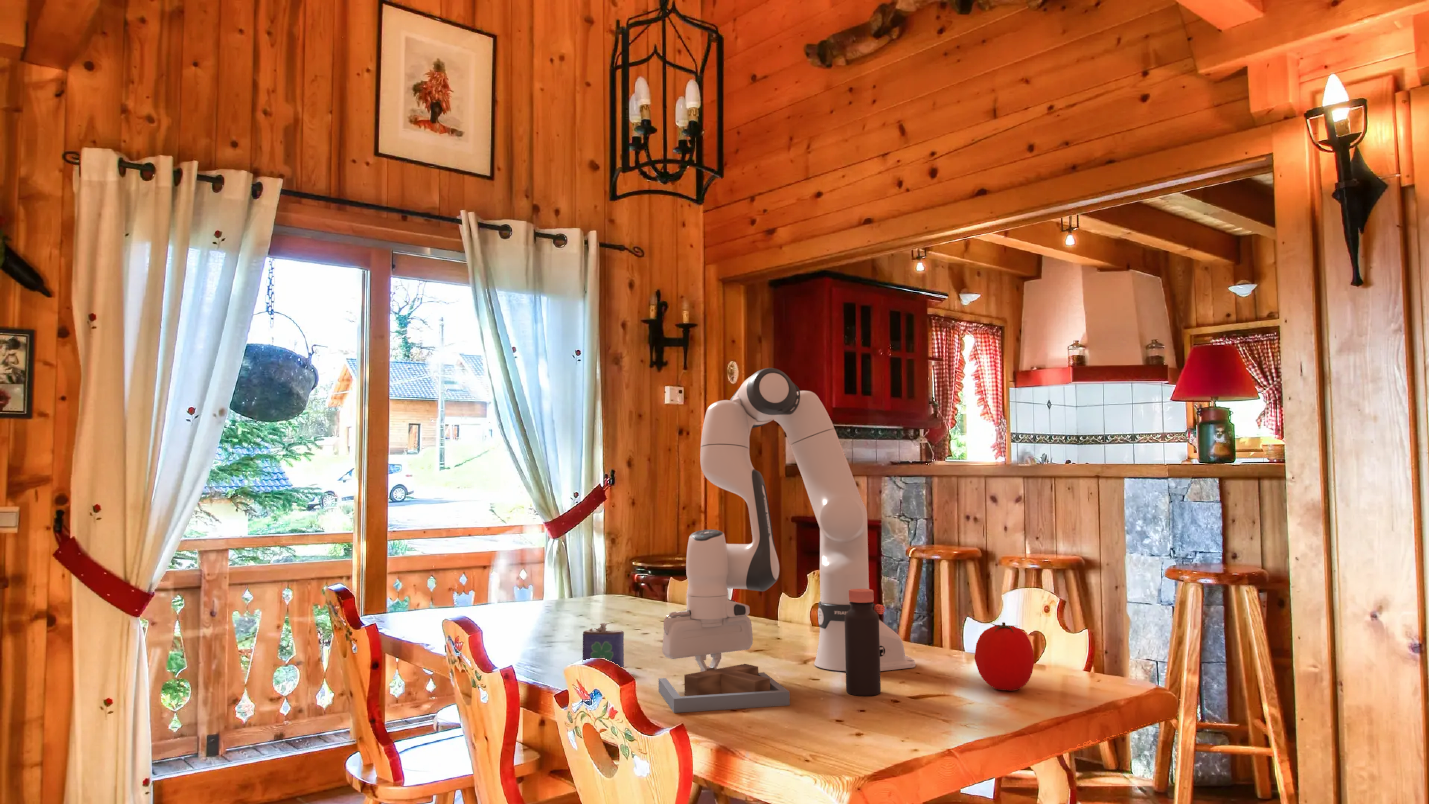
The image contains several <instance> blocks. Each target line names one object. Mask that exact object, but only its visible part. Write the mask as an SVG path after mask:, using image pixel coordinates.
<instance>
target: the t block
mask: <svg viewBox="0 0 1429 804" xmlns="http://www.w3.org/2000/svg"><path fill="white" fill-rule="evenodd" d="M758 673H759V666H757V665H752V664H748V663H743V664H737V665H730V666H725V667H719V668H717V669H714V670H708V671H702V672H701V671H697V672H692V673H686V674H684V682H683V683H684V696H696V695H712V694H728V693H744V692H761V691H770V678H765V677H761V676H758Z"/></svg>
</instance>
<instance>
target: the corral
mask: <svg viewBox="0 0 1429 804" xmlns="http://www.w3.org/2000/svg"><path fill="white" fill-rule="evenodd" d="M758 676H761V677H765V678H770V691H761V692H744V693H728V694H712V695H696V696H685V695H684V696H681V695H680V694H679V693H678V691H677V690H676V689H675V688H674V686H673V685H672V684H671V682H669V680H668V679H667V677H663V678H662V677H660V678H658V692H659V694H660V695H661V697H662V698H663V700H664V701H665V702H666V704H667V705H668V706H669V708H670V709H671V710H672V713H675V714H676V713H691V712H692V713H693V712H703V711H704V712H707V711H708V712H709V711H710V712H711V711H721V710H736V709H737V710H739V709H753V708H768V707H781V706H782V707H783V706H790V703H791V702H790V701H791V700H790V699H791V698H790V690H788V689H787V688H785V687H784V686H783V685H782V684H780V682H778V681H776V680H774V679H773V678H772V677H771V676H770V675H768V674H767V673H766V672H764V671H763V672H758Z"/></svg>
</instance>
